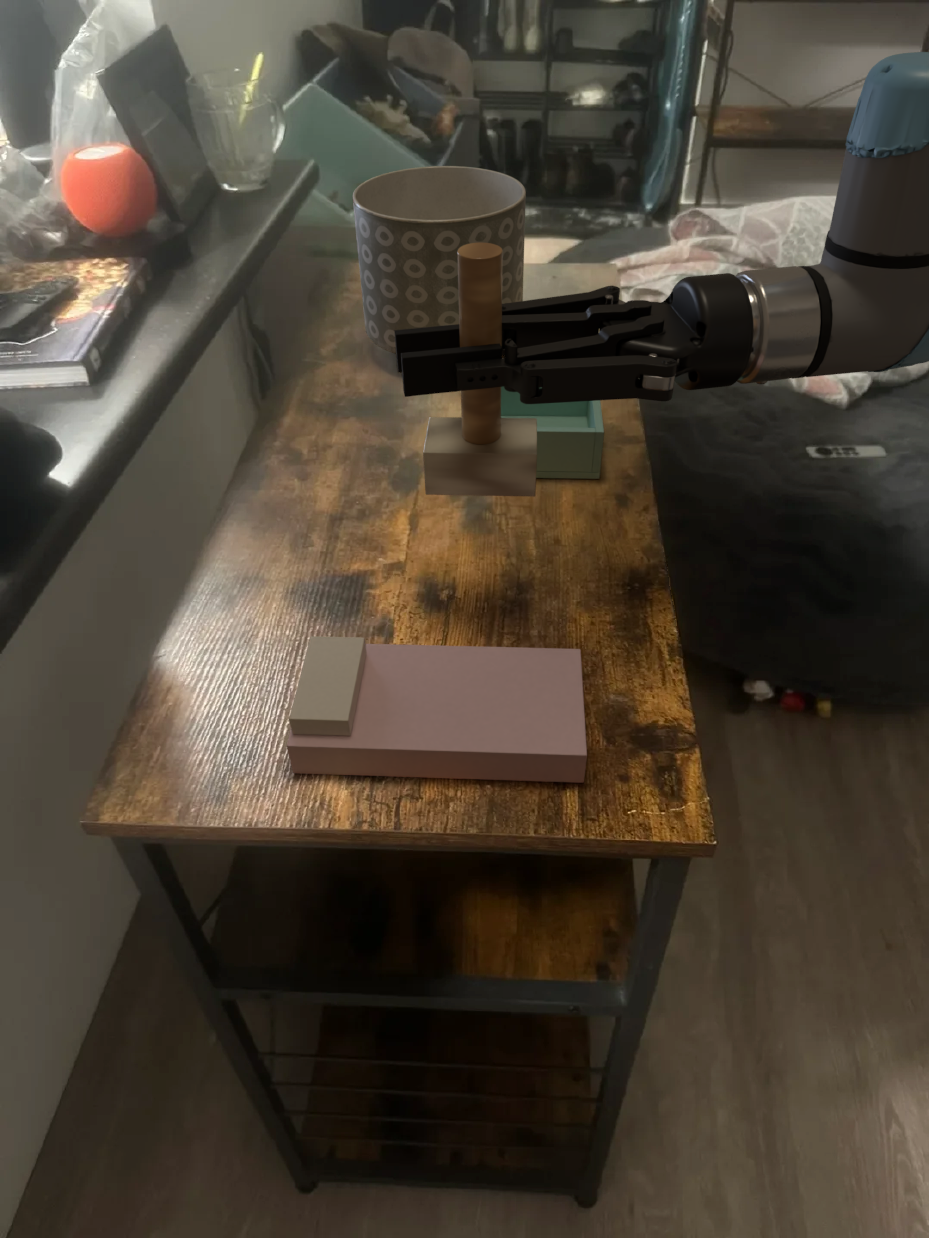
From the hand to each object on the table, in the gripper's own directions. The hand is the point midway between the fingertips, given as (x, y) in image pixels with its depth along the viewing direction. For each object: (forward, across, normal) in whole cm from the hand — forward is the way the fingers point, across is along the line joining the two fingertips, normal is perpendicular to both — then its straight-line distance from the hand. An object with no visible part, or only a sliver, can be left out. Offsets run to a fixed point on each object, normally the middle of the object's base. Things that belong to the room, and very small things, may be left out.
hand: (400, 363), depth 58 cm
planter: (-10, +47, -22) cm, 53 cm away
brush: (-5, 0, -10) cm, 11 cm away
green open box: (-15, +23, -22) cm, 35 cm away
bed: (0, -13, -22) cm, 25 cm away
